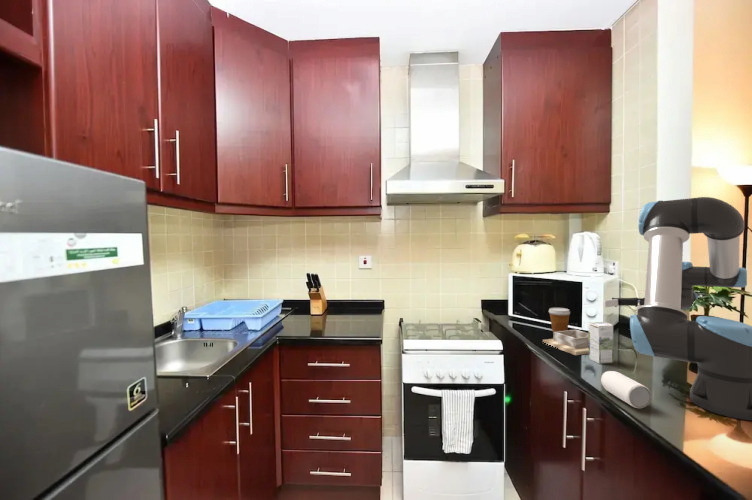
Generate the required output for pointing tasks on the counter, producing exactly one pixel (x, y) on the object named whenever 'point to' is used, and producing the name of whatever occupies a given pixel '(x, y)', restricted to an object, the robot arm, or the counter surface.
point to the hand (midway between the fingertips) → (620, 306)
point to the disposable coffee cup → (559, 319)
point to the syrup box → (600, 342)
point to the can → (626, 389)
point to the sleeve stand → (570, 341)
